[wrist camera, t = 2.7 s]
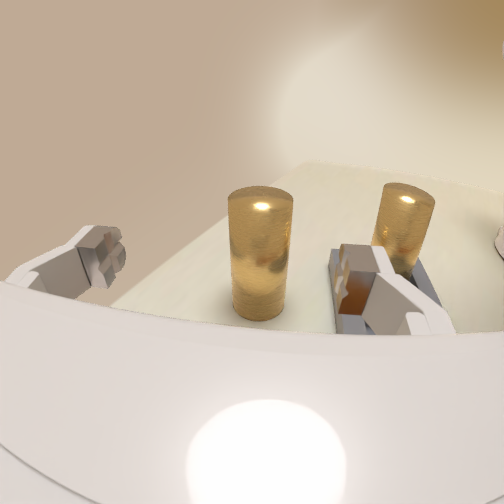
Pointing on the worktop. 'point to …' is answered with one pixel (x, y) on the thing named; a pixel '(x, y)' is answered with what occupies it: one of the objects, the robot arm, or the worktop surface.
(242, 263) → the cylinder
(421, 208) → the seated billet
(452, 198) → the worktop surface
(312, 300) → the worktop surface
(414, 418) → the robot arm
